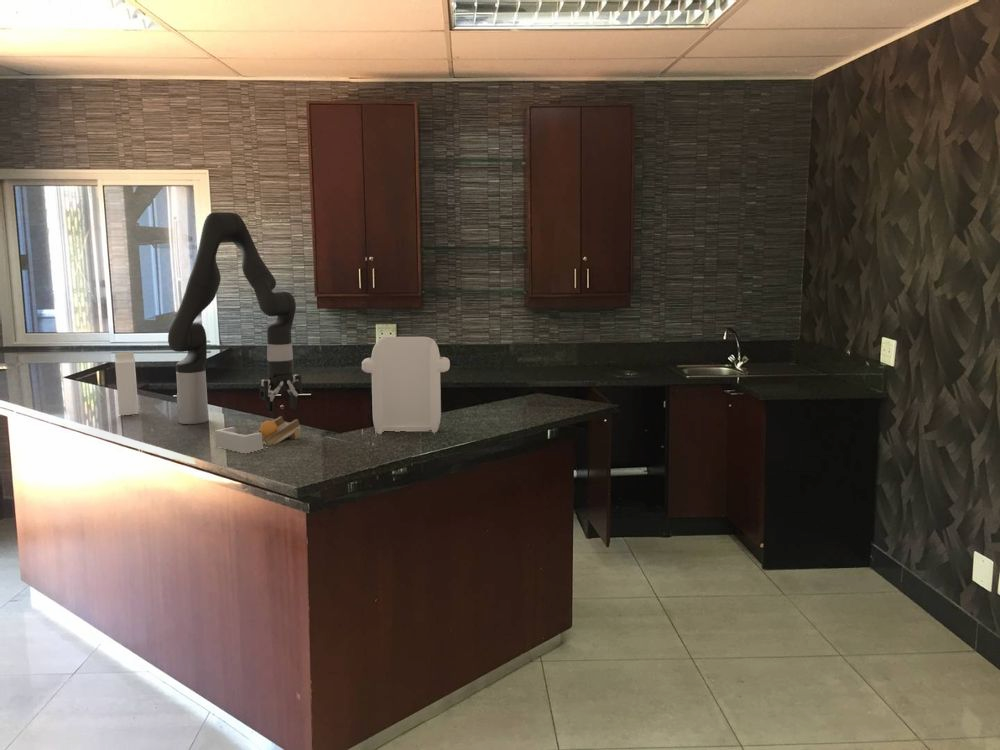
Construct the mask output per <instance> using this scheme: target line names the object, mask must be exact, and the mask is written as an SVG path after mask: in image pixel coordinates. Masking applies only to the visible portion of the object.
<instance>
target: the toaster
mask: <svg viewBox="0 0 1000 750" xmlns="http://www.w3.org/2000/svg"><path fill="white" fill-rule="evenodd" d="M439 350H440V349H439V346H438V344H437V343H436V341H435V340H434V339H433V338H431V337H428V336H385V337H382V338H380V339H378V341H377V342H376V343H375V344H374V346H373V348H372V351H371V357H367V358H364V359H363V360H362V361H361V370H362V372H364V373H367V374H371V396H372V397H371V398H372V399H371V400H372V401H371V405H372V408H371V409H372V423H373V427H374V429H375V431H376V433H377V434H378V435H382V433H383V432H384V431H395V432H397V433H398V432H399V433H401V432H400V431H406V432H430V431H429V430H432V431H431V432H432V434H433V433H434V434H436V433H437V432H438V430H439V427H440V423H441V418H442V417H441V416H442V400H441V399H442V398H441V397H442V395H441V392H442V391H441V388H442V387H441V373H445V372H447V371H449V370H450V367H451V366H450V365H451V363H450V362H451V361H450V359H449V358H448V357H446V356H441V354H440V351H439ZM395 432H394V433H395ZM435 432H436V433H435ZM384 433H385V432H384Z"/></svg>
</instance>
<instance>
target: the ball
mask: <svg viewBox="0 0 1000 750" xmlns="http://www.w3.org/2000/svg"><path fill="white" fill-rule="evenodd" d="M273 421H274V420H265V421H263V422H262V423H261V424H260V428H259V429H260V431H261V433H262V434H263V435H264V436H266V437H269V436H270V435H272V434H273V433H275V432H277V425H276V423H275V422H273Z"/></svg>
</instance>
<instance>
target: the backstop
mask: <svg viewBox="0 0 1000 750" xmlns="http://www.w3.org/2000/svg"><path fill="white" fill-rule="evenodd" d="M214 437H215V439H214V440H215V448H217V447H221V448H220V449H222V448H225V449H224V450H226V449H229V450H228V451H230V450H232V452H235V451H237V452H236V453H239V452H240V453H239V454H243V453H245V454H244V455H247V454H246V453H248V454H251V453H250V452H252V453H254V451H256V452H258V451H257V450H260V451H262V450H261V449H263V447H264V446H263V444H262V433H260V432H258V433H254V432H253V433H249V434H241V433H237V431H236V427H235V426H230V427H225V428H221V429H216V430H214ZM263 450H264V449H263Z"/></svg>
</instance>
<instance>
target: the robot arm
mask: <svg viewBox="0 0 1000 750" xmlns="http://www.w3.org/2000/svg"><path fill="white" fill-rule="evenodd" d="M199 239H200V240H199V243H198V245H199V246H198V249H197V253H196V256H195V260H194V263H193V266H192V269H191V272H190V274H189V277H188V279H187V280H188V281H187V285H186V287H185V291H184V294H183V297H182V299H181V302H180V305H179V308H178V309H177V312H176V314H175V315H174V316H175V317H174V318H173V321H172V322H171V325H170V328H169V331H168V336H167V343H168V346H169V348H170V350H172V351H174V352H178V353H181V352H183V353H184V352H187V353H186V356H185V357H184V358H182V359H181V360H180V361H178V362H177V363H176V364H175V374H176V390H177V393H176V409H177V421H178V422H179V423H180V424H181V425H183V424H184V425H185V424H186V425H195V424H202V423H203V424H204V423H206V422H209V410H208V409H209V406H208V392H207V390H208V389H207V376H206V375H207V374H206V364H207V359H208V357H207V355H208V354H207V353H208V351H207V341H208V339H207V333H206V329H205V327H204V326H203V325H202V323H200V322H195V320H196V319H197V317H198V316H199V315H200V314H201V313H202V312H203V311H205V309H206V308H207V307H208V306H210V304H212V302H213V301H214V299H215V297H217V296H216V295H217V292H218V291H219V287H220V284H221V279H222V278H221V273H220V269H219V265H218V262H217V252H218V250H219V247H220V246H221V243H222V244H223V243H225V244H226V243H233V244H234V245H235V246H236V247H237V248H238V250H239V252H240V254H241V269H242V272H243V275H244V277H245V279H246V280H247V282H248V283H249V285H250V287H251V288H253V289H252V290H254V294H255V296H256V300H257V303H258V306H259V308H260V311H261V312H262V313H263V314H265V315H266V316H268V317H276V320H275V322H273V323H271V324H269V325H268V326H267V329H266V338H267V349H266V357H267V358H266V361H267V374H268V379H260V381H259V399H260V400H262V401H265V405H266V409H265V410H266V412H267V413H268V414H274V413H275V402H274V399H275V397H276V396H277V395H278V393H282V392H287V393H288V394H289V395H290V396H289V408H290V409H297V406H298V397H299V395H301V394H303V384H302V383H303V382H302V375H301V374H296V373H294V357H293V356H294V354H293V352H294V351H293V346H292V345H293V344H292V327H293V323H294V319H295V314H296V308H297V303H296V300H295V297H294V296H293V294H292V293H291V292H288V291H279V292H275V291H274V289H275V287H276V286H277V282H276V281H277V280H276V278H275V276H274V275H273V274H272V272H271V270H269V267H267V265H266V264H265V262H264V261H263V258H261V255H260V254H259V251H258V249H257V247H256V245H255V243H254V241H253V239H252V235H251V234H250V231H249V229H248V227H247V226H246V224H245V222H244V219H242V217H241V215H239V214H237V213H235V212H229V211H228V212H227V211H226V212H223V211H222V212H221V211H220V212H219V211H218V212H216V211H215V212H211V213H209V214H208V215H207V216H206V217H205V219H204V222H203V226H202V229H201V235H200V238H199ZM293 373H294V374H293Z"/></svg>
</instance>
